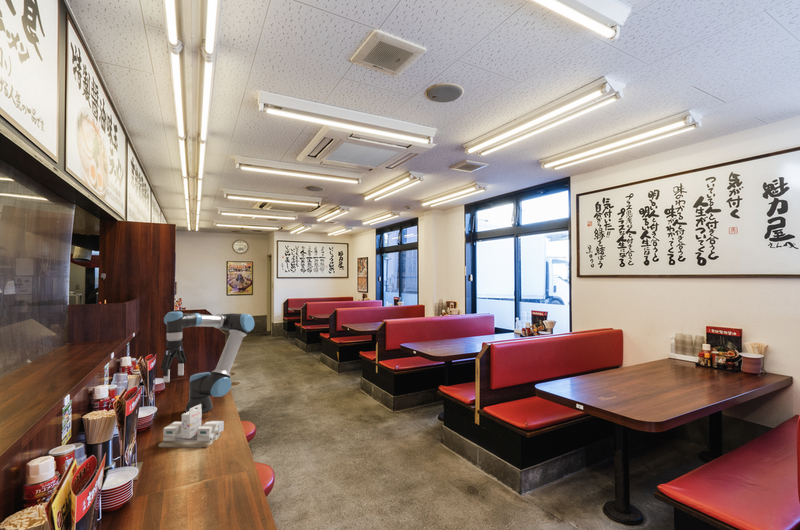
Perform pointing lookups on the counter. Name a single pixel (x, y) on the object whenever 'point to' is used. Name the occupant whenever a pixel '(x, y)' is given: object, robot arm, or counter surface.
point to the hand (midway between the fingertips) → (173, 378)
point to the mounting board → (202, 439)
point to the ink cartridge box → (191, 422)
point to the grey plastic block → (220, 425)
